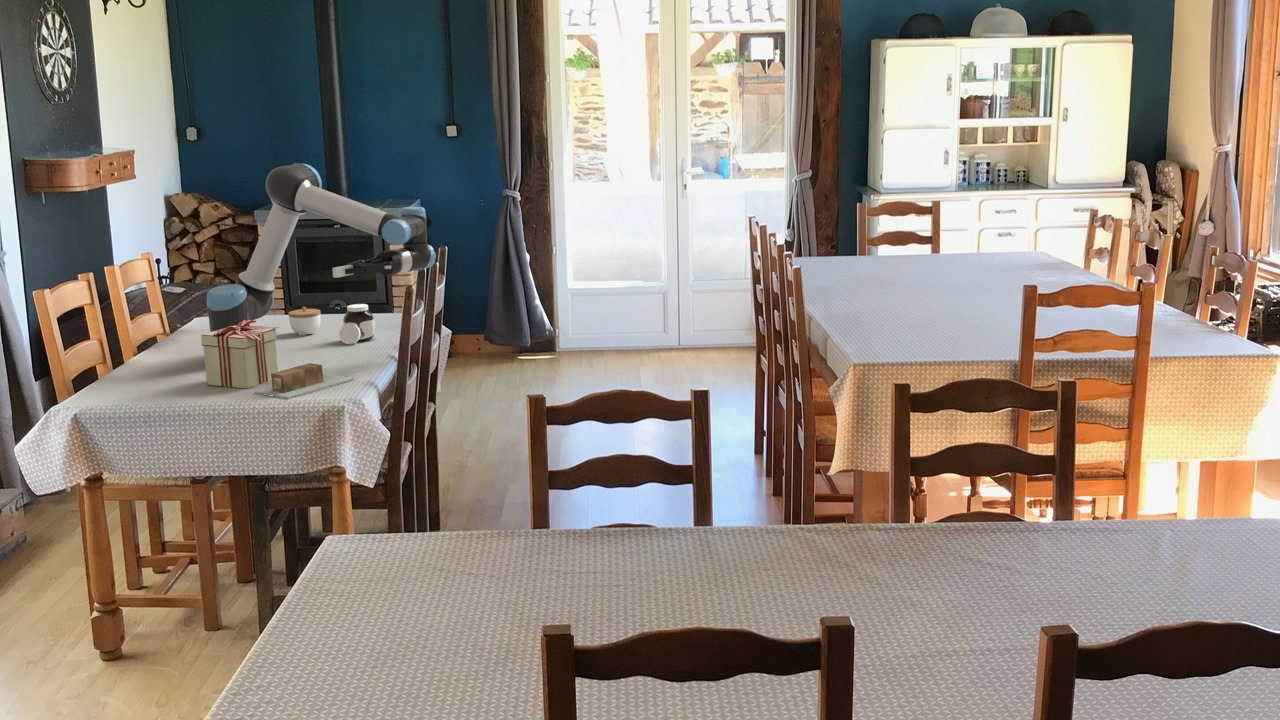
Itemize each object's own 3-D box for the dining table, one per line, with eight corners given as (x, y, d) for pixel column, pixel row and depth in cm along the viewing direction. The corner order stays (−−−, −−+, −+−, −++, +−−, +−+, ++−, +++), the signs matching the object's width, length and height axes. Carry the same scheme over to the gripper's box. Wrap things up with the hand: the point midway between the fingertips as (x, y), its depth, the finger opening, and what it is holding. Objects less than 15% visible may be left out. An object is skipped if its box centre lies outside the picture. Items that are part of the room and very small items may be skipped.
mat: (320, 374, 360) (320, 373, 360) (353, 380, 352) (353, 378, 352) (254, 393, 341) (254, 391, 340) (288, 399, 333) (288, 397, 333)
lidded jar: (328, 332, 423) (326, 305, 421) (305, 338, 414) (302, 310, 412) (307, 329, 429) (304, 303, 427) (283, 335, 420) (281, 308, 418)
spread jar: (374, 336, 413) (371, 302, 411) (378, 343, 403) (375, 308, 400) (337, 339, 410) (334, 305, 407) (340, 346, 399) (337, 311, 397)
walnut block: (309, 363, 350) (270, 373, 339) (321, 364, 348) (282, 375, 336) (311, 380, 351) (271, 391, 340) (323, 381, 349) (284, 393, 337)
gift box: (260, 389, 344) (254, 330, 341) (203, 387, 349) (196, 328, 346) (292, 375, 360) (287, 318, 357) (237, 373, 365) (231, 316, 362)
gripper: (409, 276, 367) (351, 287, 348) (378, 272, 374) (319, 283, 355) (408, 251, 366) (349, 261, 346) (377, 248, 373) (317, 258, 354)
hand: (334, 272), depth 351 cm, fingers closed
